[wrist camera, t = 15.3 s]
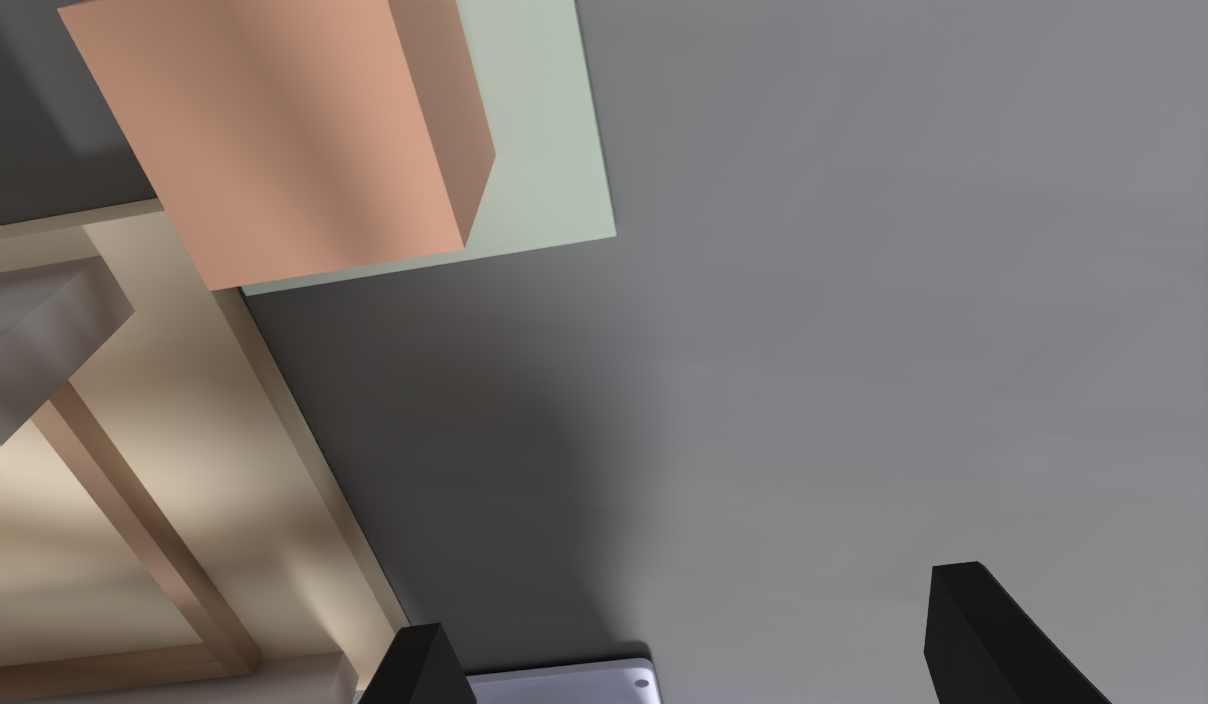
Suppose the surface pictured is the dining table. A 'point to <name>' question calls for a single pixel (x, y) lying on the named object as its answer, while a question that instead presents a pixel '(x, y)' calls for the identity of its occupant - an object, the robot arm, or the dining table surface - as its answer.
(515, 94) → the sage pad
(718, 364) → the dining table surface
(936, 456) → the dining table surface
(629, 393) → the dining table surface
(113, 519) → the beige wooden low frame
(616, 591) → the dining table surface
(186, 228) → the terracotta block
